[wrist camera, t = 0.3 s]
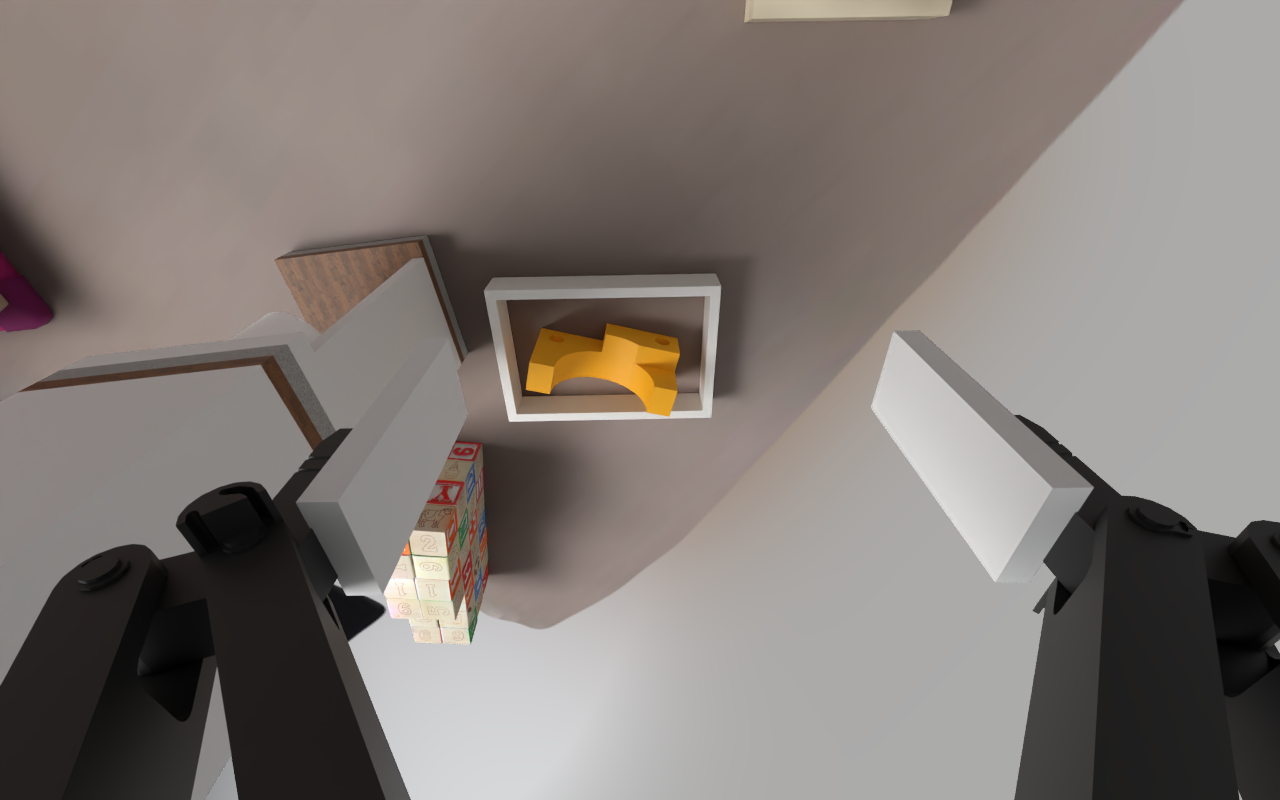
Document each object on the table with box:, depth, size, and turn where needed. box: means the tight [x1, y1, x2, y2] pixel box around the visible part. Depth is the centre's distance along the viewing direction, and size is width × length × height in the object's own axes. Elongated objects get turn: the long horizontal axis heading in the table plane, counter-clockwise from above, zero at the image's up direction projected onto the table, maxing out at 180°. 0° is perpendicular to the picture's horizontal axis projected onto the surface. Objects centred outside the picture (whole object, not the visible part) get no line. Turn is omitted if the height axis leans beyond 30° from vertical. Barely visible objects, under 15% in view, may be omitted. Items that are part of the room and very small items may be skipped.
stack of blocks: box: [384, 441, 488, 644], centre depth 51 cm, size 21×6×12 cm, turn 173°
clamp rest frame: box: [484, 273, 721, 422], centre depth 44 cm, size 13×19×3 cm
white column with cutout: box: [0, 235, 468, 800], centre depth 28 cm, size 11×11×35 cm
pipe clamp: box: [526, 323, 680, 417], centre depth 42 cm, size 12×4×6 cm, turn 76°
